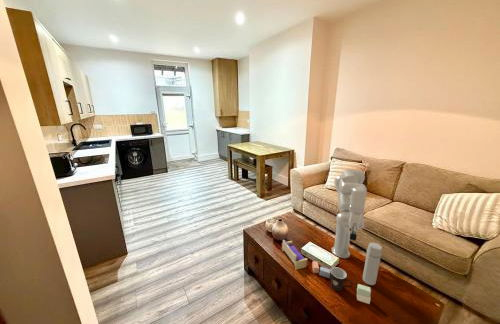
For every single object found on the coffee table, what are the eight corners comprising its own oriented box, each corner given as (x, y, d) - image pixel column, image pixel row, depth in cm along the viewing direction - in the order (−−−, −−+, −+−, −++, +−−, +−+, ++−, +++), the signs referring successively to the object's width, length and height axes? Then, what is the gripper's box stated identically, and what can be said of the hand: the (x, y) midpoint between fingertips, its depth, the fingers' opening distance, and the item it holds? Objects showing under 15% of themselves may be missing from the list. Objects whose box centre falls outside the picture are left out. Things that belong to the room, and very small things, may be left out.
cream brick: (357, 300, 112) (358, 294, 111) (356, 295, 115) (357, 289, 114) (369, 304, 109) (370, 298, 108) (368, 299, 112) (369, 293, 111)
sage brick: (357, 294, 111) (358, 288, 110) (356, 289, 114) (357, 283, 113) (369, 298, 109) (370, 292, 108) (369, 293, 111) (370, 287, 110)
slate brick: (319, 275, 129) (319, 269, 128) (320, 271, 132) (320, 266, 131) (329, 278, 126) (329, 273, 125) (329, 274, 129) (330, 269, 128)
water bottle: (374, 288, 119) (381, 252, 113) (360, 281, 124) (366, 245, 118) (378, 279, 126) (385, 244, 119) (364, 272, 131) (370, 238, 125)
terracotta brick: (312, 266, 136) (312, 261, 135) (317, 266, 136) (317, 261, 135) (313, 272, 131) (313, 267, 130) (318, 273, 130) (319, 268, 129)
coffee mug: (325, 283, 123) (327, 269, 120) (336, 279, 126) (338, 265, 123) (340, 299, 112) (342, 284, 110) (352, 294, 115) (354, 280, 113)
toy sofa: (307, 267, 135) (308, 254, 132) (296, 270, 132) (297, 257, 130) (291, 248, 154) (292, 236, 152) (281, 250, 151) (281, 238, 149)
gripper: (349, 201, 124) (345, 226, 129) (349, 214, 109) (345, 241, 113) (362, 204, 121) (358, 229, 125) (365, 217, 106) (360, 245, 110)
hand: (352, 235), depth 119 cm, fingers open, 9 cm apart
